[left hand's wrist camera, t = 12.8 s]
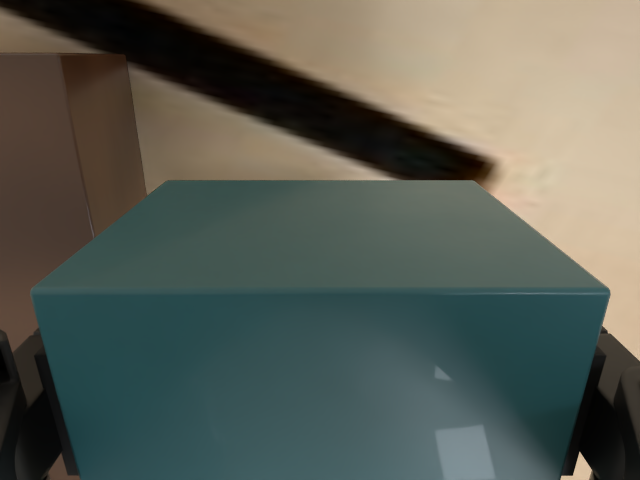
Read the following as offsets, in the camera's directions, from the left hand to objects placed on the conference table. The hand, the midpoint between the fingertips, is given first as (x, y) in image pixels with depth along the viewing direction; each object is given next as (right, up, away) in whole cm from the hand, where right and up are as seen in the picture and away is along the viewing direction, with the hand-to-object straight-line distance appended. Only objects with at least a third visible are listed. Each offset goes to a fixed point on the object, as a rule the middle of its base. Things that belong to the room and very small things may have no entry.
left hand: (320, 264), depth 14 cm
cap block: (0, 0, -1) cm, 1 cm away
